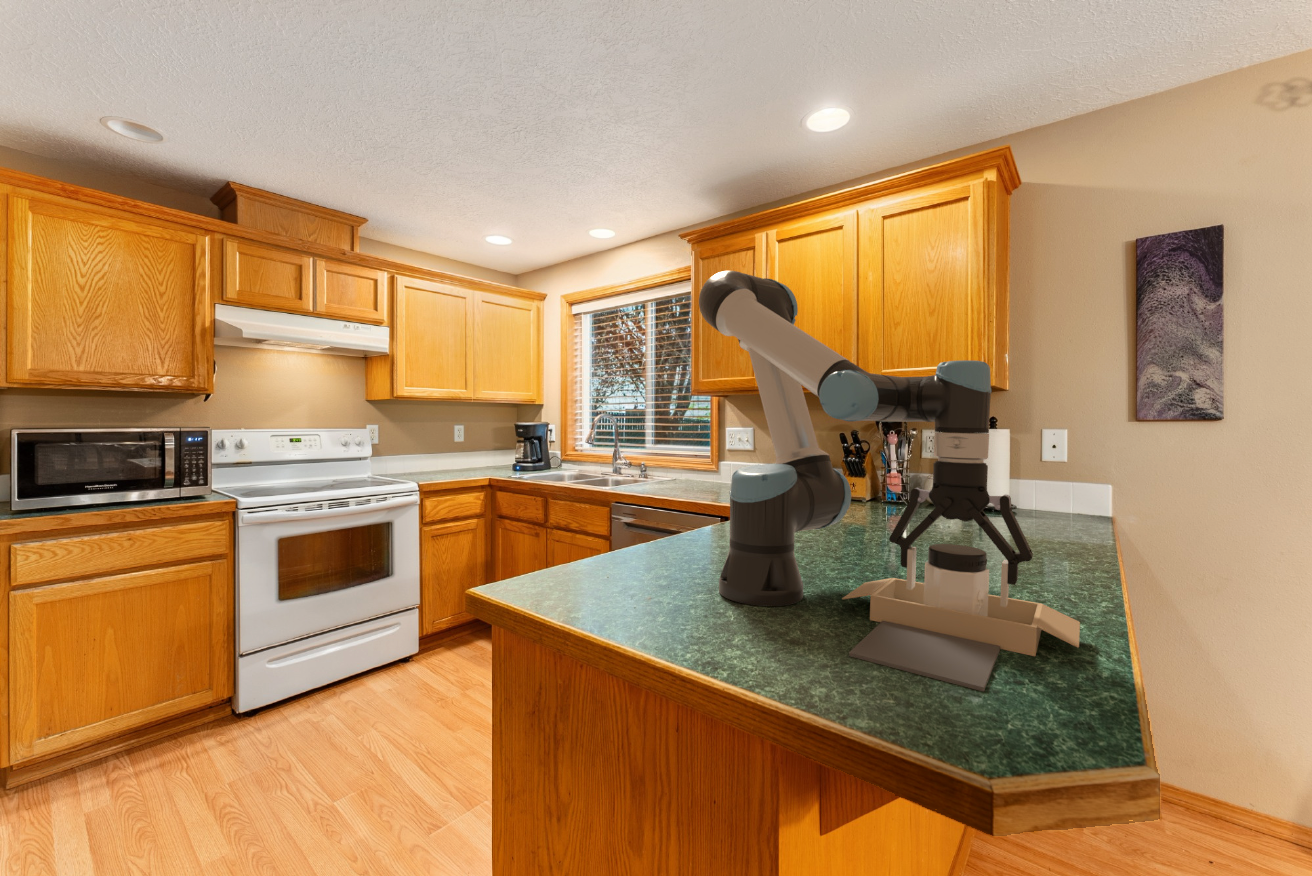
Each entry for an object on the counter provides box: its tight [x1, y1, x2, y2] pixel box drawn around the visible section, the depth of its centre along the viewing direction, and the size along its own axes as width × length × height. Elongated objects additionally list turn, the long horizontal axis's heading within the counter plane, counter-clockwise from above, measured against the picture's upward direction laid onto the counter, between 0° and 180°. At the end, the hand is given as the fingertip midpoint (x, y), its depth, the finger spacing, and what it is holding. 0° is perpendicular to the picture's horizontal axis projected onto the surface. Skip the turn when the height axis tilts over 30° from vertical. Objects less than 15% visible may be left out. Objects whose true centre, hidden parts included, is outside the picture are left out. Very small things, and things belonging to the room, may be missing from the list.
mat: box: [848, 621, 1001, 692], centre depth 79 cm, size 16×16×1 cm
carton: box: [842, 577, 1081, 657], centre depth 90 cm, size 32×13×4 cm, turn 53°
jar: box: [923, 543, 990, 617], centre depth 90 cm, size 9×8×12 cm
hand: (955, 596), depth 90 cm, fingers open, 12 cm apart
